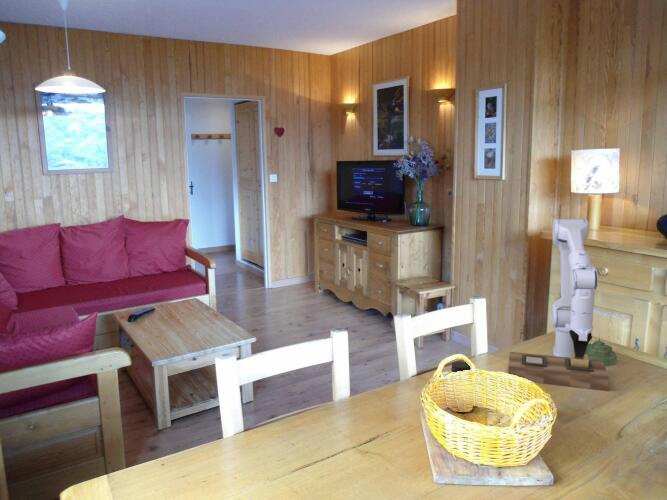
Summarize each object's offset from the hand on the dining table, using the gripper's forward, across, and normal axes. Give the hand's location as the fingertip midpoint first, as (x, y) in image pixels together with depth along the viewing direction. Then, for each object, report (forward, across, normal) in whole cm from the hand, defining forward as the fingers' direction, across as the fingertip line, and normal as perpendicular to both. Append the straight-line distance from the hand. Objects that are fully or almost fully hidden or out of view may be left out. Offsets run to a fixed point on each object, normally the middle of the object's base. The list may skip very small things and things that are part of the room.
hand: (579, 356), depth 150 cm
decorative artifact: (+7, -17, +7) cm, 20 cm away
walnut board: (+7, 0, -6) cm, 9 cm away
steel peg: (+7, 0, -12) cm, 14 cm away
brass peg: (+4, 0, 0) cm, 4 cm away
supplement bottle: (+7, +27, -30) cm, 41 cm away
